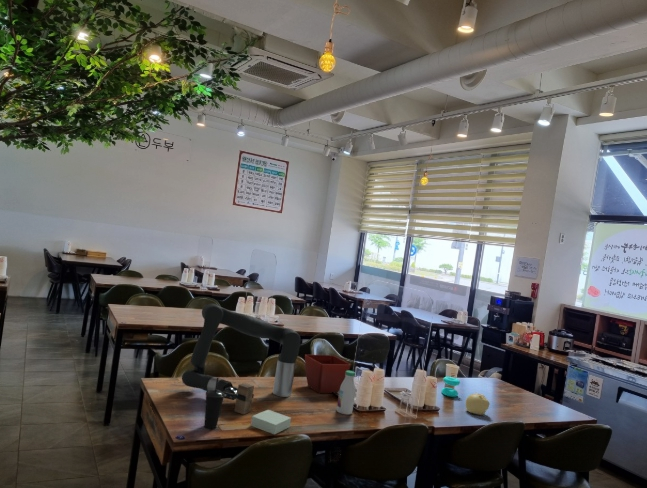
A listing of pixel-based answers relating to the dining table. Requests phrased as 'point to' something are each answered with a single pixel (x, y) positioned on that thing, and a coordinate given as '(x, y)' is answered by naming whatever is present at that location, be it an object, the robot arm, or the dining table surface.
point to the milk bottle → (346, 394)
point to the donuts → (451, 382)
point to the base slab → (270, 421)
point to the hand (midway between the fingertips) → (249, 397)
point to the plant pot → (325, 372)
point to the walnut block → (247, 391)
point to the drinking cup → (213, 407)
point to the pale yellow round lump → (477, 404)
